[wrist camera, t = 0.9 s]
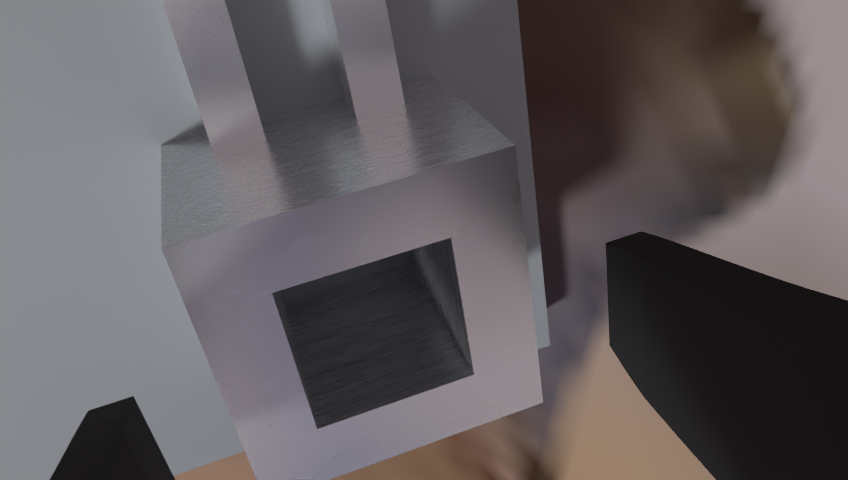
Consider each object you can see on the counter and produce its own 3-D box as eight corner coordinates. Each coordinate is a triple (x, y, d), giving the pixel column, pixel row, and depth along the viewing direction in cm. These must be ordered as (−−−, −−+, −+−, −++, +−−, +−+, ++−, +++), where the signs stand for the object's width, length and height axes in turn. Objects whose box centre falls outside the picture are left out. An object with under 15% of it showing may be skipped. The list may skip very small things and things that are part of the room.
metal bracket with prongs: (466, 290, 17) (543, 402, 14) (243, 363, 16) (265, 501, 13) (404, -94, 13) (491, -70, 9) (95, -27, 12) (70, 27, 8)
